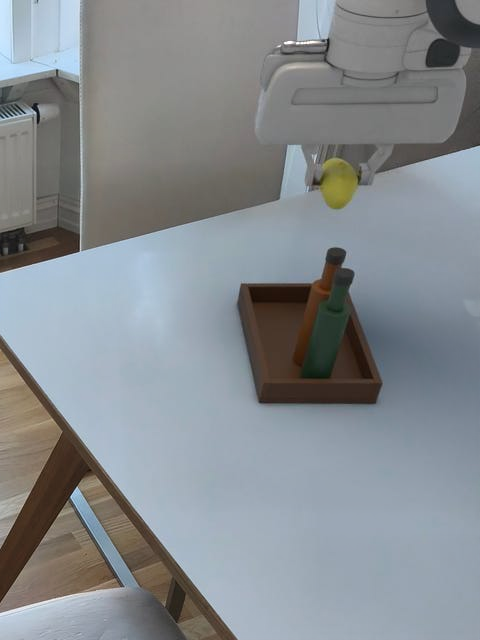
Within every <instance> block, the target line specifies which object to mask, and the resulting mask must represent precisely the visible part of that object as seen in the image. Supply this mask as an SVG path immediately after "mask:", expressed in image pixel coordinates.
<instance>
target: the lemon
mask: <svg viewBox="0 0 480 640" xmlns="http://www.w3.org/2000/svg"><path fill="white" fill-rule="evenodd" d="M322 168H323V170H324V173H323V177H322V178H321V185H320V186H317V187H318V191H319V192H320V194H321V196H322V198H323V201H324V203H325V205H327V206H328V207H329V209H331V210H335V211H336V210H337V211H338V210H339V211H340V210H341V209H343V208H345V207H346V206H348V205H349V203H350V202H351V201H352V199H353V197H354V196H355V194H356V192H357V189H358V187H359V186H358V177H357V175H356V174H357V172H356V171H355V169H354V167H353V166H352V165H351V164H350V163H349V162H348V161H346V160H345V159H342V158H339V157H332V158H329V159H327V160H326V161H325V162H324V163H323V164H322Z"/></svg>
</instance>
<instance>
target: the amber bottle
mask: <svg viewBox="0 0 480 640" xmlns="http://www.w3.org/2000/svg"><path fill="white" fill-rule="evenodd" d="M346 256H347V250H345V249H344V248H342V247H339V246H338V247H337V246H334V247H330V248H328V249H327V251H326V254H325V258H324V260H325V263H324V267H323V270H322V273H321V278H320V279H316V280H314V281H313V282H312V283H313V284H312V287H311V291H310V294H309V298H308V302H307V306H306V310H305V314H304V318H303V321H302V325H301V329H300V333H299V337H298V341H297V344H296V348H295V352H294V356H293V360H294V362H295V363H296V364H297V365H299V366H303V363H304V359H305V355H306V352H307V348H308V344H309V341H310V337H311V333H312V329H313V326H314V322H315V318H316V315H317V311H318V307H319V304H320V303H321V302H323V301H325V300H328V299H329V296H330V292H331V288H332V285H333V277H334V274H335V271H336V270H337V269H339V268H343V267H342V266H343V264H344V262H345V260H346Z"/></svg>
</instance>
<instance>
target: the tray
mask: <svg viewBox="0 0 480 640" xmlns="http://www.w3.org/2000/svg"><path fill="white" fill-rule="evenodd" d="M312 284H313V282H290V283H289V282H287V283H286V282H281V283H280V282H278V283H277V282H276V283H275V282H273V283H272V282H271V283H270V282H268V283H267V282H265V283H263V282H261V283H259V282H258V283H253V282H252V283H250V282H249V283H248V282H247V283H246V282H244V283H243V282H242V283H240V286H239V291H238V295H237V303H236V304H237V308H238V312H239V317H240V322H241V326H242V331H243V335H244V339H245V340H244V341H245V345H246V350H247V354H248V359H249V362H250V367H251V372H252V377H253V381H254V385H255V390H256V395H257V400H258V403H261V404H262V403H263V404H264V403H265V404H266V403H267V404H268V403H269V404H376V403H377V401H378V397H379V395H380V392H381V389H382V387H383V384H384V383H383V380H382V377H381V375H380V372H379V370H378V366H377V363H376V361H375V358H374V356H373V352H372V350H371V348H370V346H369V343H368V340H367V337H366V335H365V332H364V330H363V329H364V328H363V327H362V324H361V321H360V319H359V316H358V313H357V311H356V308H355V305H354V303H353V300H352V296H351V294H350V291H348V295H347V298H346V302H345V303H347V304H348V305H349V306H350V308H351V311H350V314H349V318H348V321H347V324H346V328H345V331H344V334H343V338H342V341H341V344H340V347H339V351H338V354H337V357H336V361H335V364H334V367H333V371H332V374H331V377H330V379H299V377H300V374H301V370H302V366H299V365H297V364H296V363H295V362H294V360H293V356H294V352H295V348H296V344H297V341H298V337H299V333H300V329H301V325H302V321H303V318H304V314H305V310H306V306H307V302H308V298H309V294H310V291H311V287H312Z"/></svg>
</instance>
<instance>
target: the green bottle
mask: <svg viewBox="0 0 480 640" xmlns="http://www.w3.org/2000/svg"><path fill="white" fill-rule="evenodd" d="M355 274H356V273H355V271H354V270H352V269H351V268H348V267H341V268H339V269H337V270H336V271H335V274H334V277H333V285H332V288H331V292H330V296H329V299H328V300H325V301H323V302H321V303H320V304H319V307H318V311H317V315H316V318H315V322H314V326H313V329H312V333H311V337H310V341H309V344H308V348H307V352H306V355H305V359H304V363H303V366H302V370H301V374H300V377H299V379H330V377H331V374H332V371H333V367H334V364H335V361H336V357H337V354H338V351H339V347H340V344H341V341H342V338H343V334H344V331H345V328H346V324H347V321H348V318H349V314H350V311H351V308H350V306H349V305H348V304H347V303H345V302H346V298H347V295H348V292H350V288H351V285H352V284H353V281H354V279H355Z"/></svg>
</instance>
